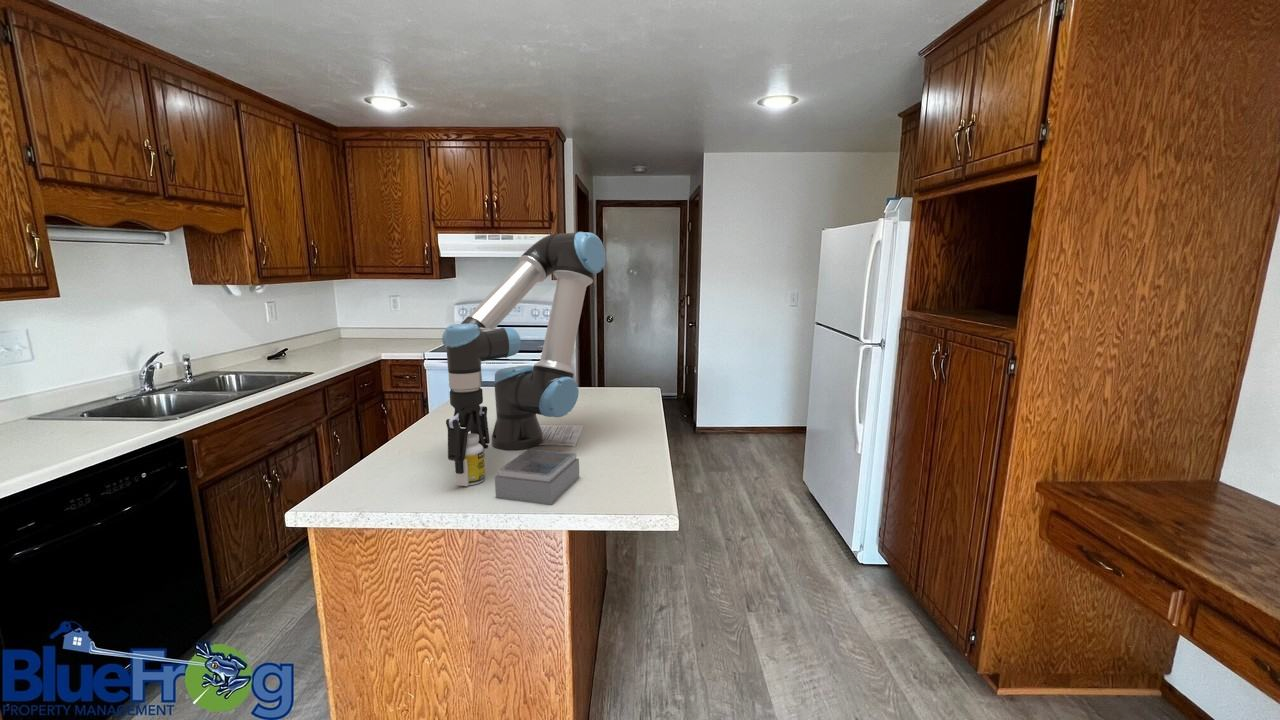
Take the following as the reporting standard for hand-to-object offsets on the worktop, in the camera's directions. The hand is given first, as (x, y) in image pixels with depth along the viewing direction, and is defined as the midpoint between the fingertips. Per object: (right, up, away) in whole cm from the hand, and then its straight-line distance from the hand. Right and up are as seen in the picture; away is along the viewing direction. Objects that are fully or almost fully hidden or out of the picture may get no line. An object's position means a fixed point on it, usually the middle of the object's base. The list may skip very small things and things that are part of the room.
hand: (471, 479), depth 130 cm
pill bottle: (0, -1, 0) cm, 1 cm away
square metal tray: (+17, -1, -4) cm, 17 cm away
